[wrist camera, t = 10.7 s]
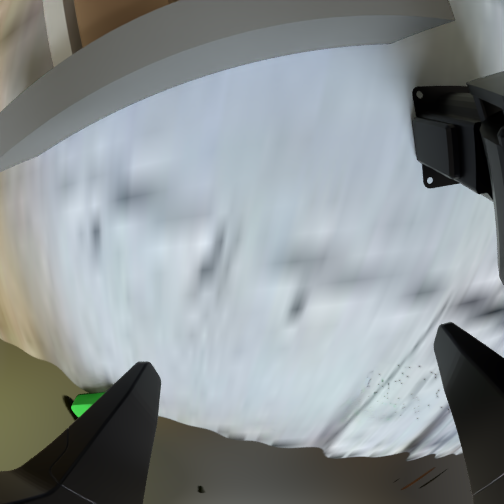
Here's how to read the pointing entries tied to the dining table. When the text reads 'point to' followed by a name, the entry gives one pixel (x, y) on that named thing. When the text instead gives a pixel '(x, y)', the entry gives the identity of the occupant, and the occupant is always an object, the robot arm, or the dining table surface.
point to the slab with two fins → (185, 55)
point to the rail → (110, 15)
